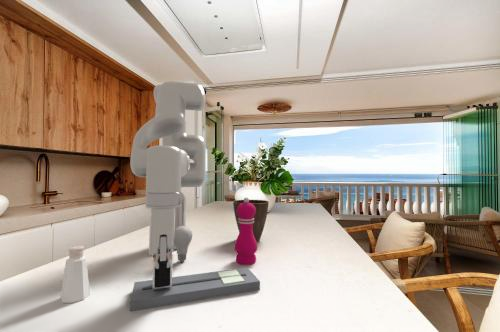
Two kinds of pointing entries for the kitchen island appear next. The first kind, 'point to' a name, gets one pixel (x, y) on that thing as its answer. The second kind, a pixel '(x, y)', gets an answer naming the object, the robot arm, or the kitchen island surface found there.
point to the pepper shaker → (75, 277)
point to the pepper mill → (246, 234)
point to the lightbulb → (182, 241)
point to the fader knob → (154, 271)
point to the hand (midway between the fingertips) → (162, 280)
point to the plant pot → (255, 216)
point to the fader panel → (193, 288)
